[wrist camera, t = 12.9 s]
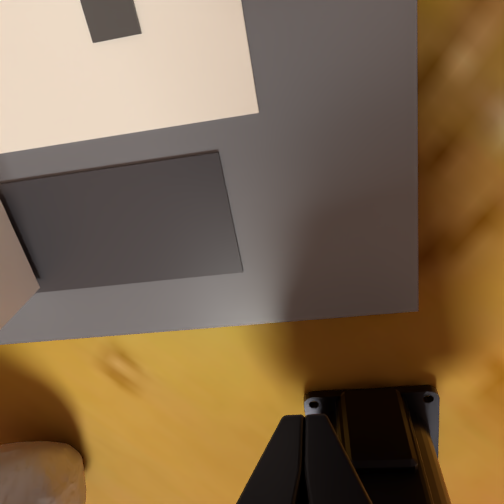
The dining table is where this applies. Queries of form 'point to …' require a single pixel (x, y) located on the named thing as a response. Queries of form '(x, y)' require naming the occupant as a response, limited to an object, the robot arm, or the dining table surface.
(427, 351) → the dining table surface
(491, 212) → the dining table surface
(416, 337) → the dining table surface
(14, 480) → the heart
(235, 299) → the switch board
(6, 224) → the peach cube
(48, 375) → the dining table surface
